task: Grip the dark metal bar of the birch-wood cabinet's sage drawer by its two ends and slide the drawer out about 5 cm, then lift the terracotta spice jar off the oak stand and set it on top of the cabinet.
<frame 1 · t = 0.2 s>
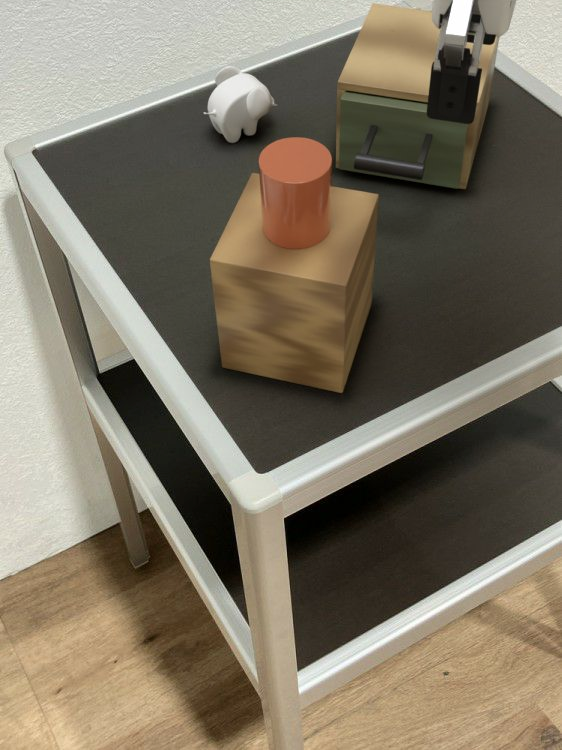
hand: (461, 78, 68), 20 cm above the table, tool pointing down, fingers open, 9 cm apart
drawer: (408, 123, 90), point 5 cm above the table, slide at 0.0 cm, touching cabinet
elephant figurine: (241, 132, 98), on the table
oak stand: (298, 335, 80), on the table
spice jar: (296, 225, 70), point 12 cm above the table, touching oak stand
cabinet: (414, 136, 96), on the table
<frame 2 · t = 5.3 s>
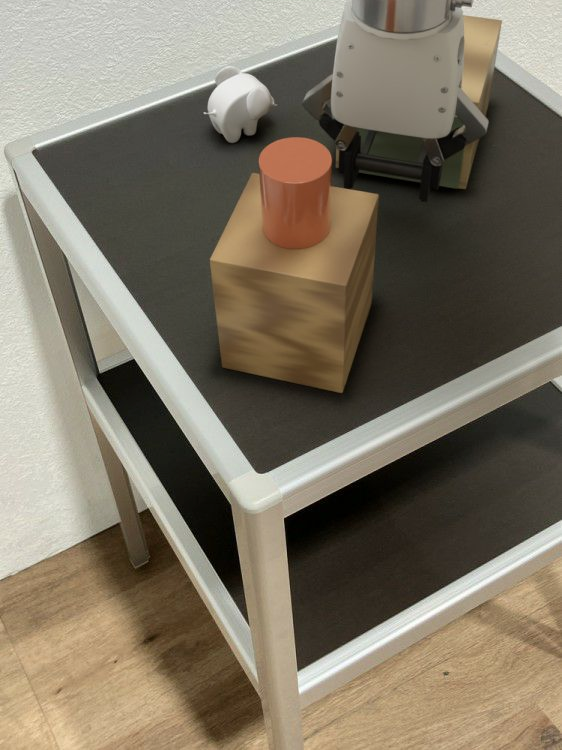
hand: (388, 183, 85), 4 cm above the table, tool pointing down, fingers closed on drawer, 6 cm apart
drawer: (408, 122, 90), point 5 cm above the table, slide at 0.0 cm, touching cabinet, gripper
everything else where it was.
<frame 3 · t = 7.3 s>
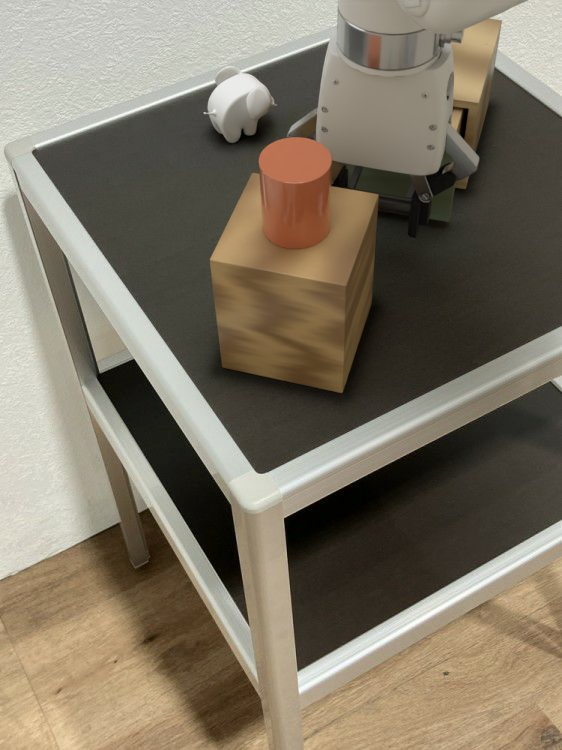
hand: (376, 218, 83), 4 cm above the table, tool pointing down, fingers closed on drawer, 6 cm apart
drawer: (397, 153, 87), point 5 cm above the table, slide at 4.7 cm, touching gripper
everything else where it was.
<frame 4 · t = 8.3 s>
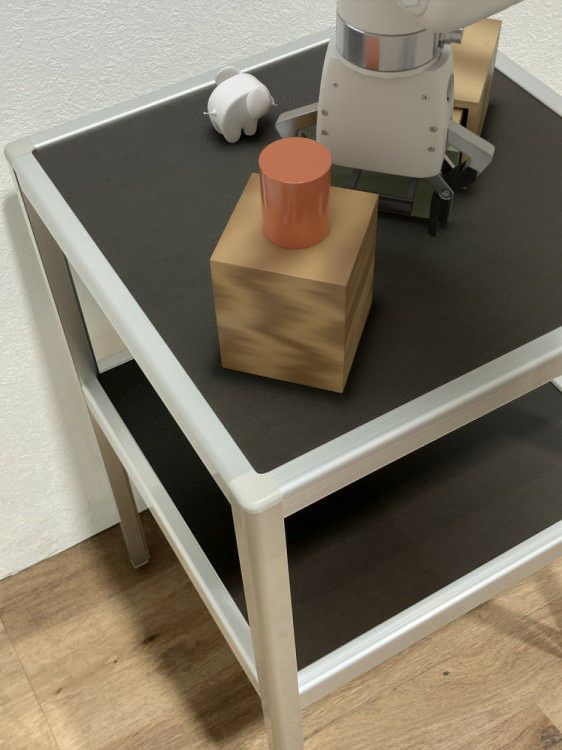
hand: (378, 215, 82), 5 cm above the table, tool pointing down, fingers open, 9 cm apart
drawer: (397, 153, 87), point 5 cm above the table, slide at 4.7 cm
everything else where it was.
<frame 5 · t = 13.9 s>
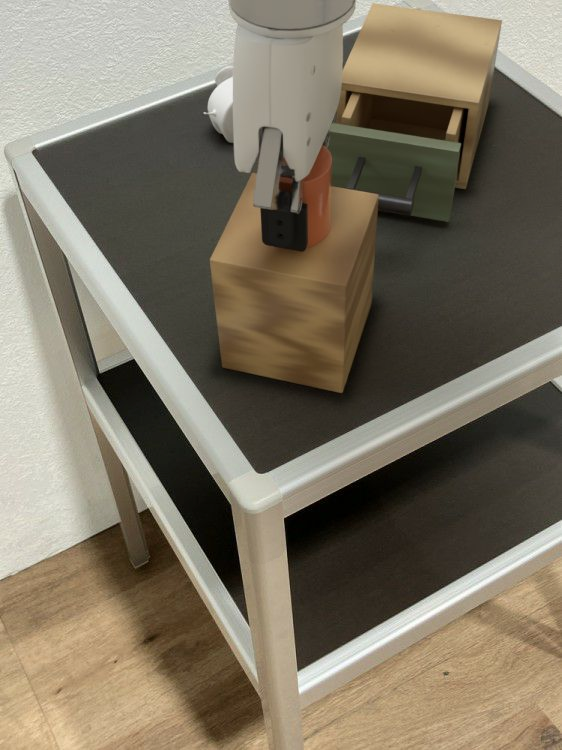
hand: (296, 217, 70), 13 cm above the table, tool pointing down, fingers closed on spice jar, 5 cm apart
spice jar: (296, 225, 70), point 12 cm above the table, touching gripper, oak stand
everything else where it was.
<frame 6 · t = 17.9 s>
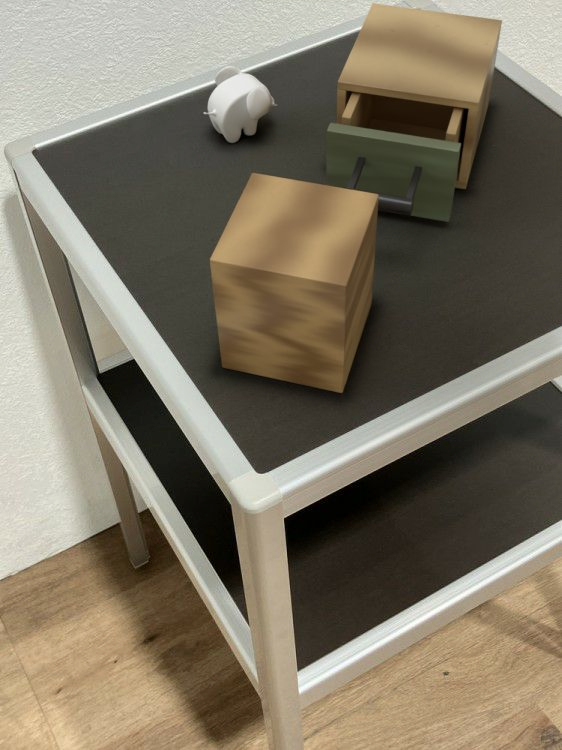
when the fingers open (10 cm above the table, at t = 22.2 s): spice jar stays where it is, resting on cabinet.
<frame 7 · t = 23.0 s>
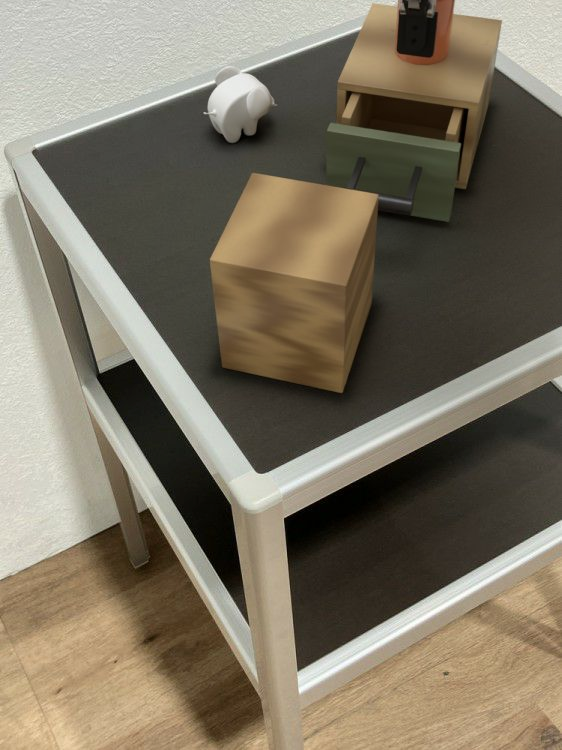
hand: (426, 24, 87), 12 cm above the table, tool pointing down, fingers open, 9 cm apart
spice jar: (421, 49, 89), point 10 cm above the table, touching cabinet
everything else where it was.
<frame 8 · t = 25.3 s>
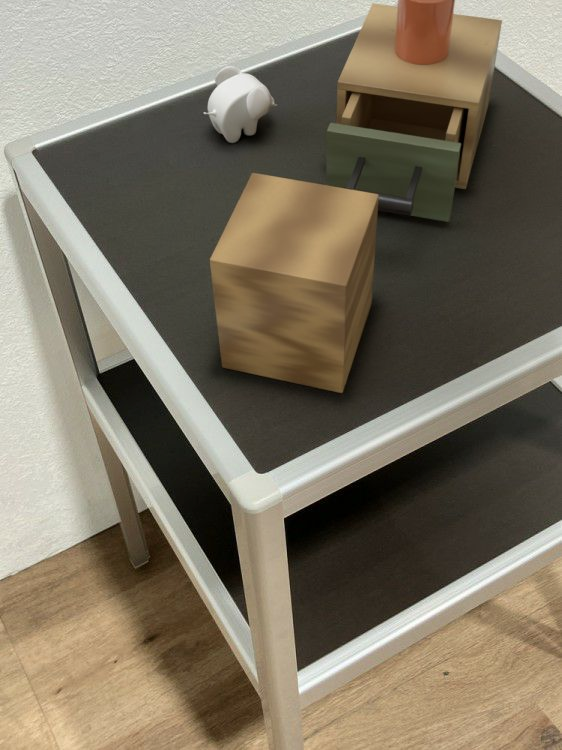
nothing on the table moved.
at the end: drawer slide at 4.7 cm; spice jar inside the target area on the cabinet (0.1 cm from its centre), point 9.6 cm above the cabinet's base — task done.
